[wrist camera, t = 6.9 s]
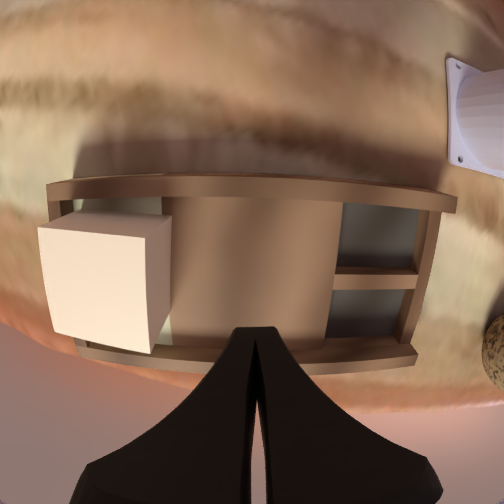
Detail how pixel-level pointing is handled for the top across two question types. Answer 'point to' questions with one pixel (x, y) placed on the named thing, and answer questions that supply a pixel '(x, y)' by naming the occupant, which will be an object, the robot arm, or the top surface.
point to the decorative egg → (494, 352)
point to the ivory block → (108, 276)
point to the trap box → (278, 264)
